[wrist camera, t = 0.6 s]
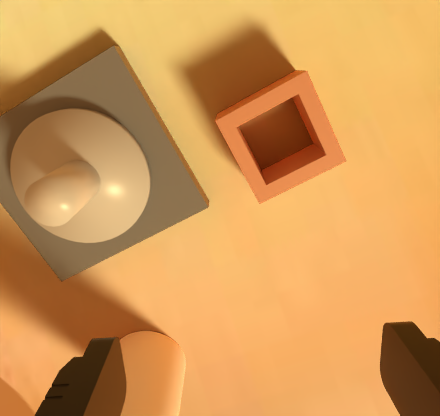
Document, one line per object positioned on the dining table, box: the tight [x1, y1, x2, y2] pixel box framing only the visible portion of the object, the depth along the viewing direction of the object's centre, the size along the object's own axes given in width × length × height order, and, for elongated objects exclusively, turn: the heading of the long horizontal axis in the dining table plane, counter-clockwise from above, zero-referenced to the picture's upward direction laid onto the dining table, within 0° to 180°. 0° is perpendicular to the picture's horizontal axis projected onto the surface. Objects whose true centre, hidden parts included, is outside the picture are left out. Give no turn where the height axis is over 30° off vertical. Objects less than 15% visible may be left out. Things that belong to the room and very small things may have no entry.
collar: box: [215, 70, 346, 204], centre depth 27 cm, size 6×6×4 cm
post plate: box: [0, 46, 209, 281], centre depth 26 cm, size 14×13×8 cm
